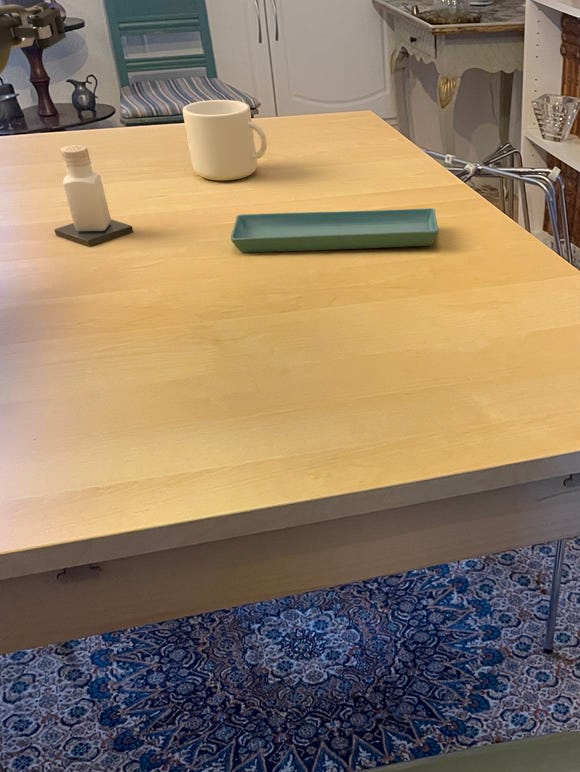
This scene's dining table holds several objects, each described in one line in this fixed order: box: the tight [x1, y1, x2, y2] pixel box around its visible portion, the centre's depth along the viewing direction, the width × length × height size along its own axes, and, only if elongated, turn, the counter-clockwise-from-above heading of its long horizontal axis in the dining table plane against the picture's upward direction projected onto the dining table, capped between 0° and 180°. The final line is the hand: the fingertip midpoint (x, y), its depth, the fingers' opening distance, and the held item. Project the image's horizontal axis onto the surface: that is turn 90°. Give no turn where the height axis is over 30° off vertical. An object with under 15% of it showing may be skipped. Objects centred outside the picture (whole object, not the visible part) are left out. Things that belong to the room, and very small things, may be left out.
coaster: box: [54, 218, 134, 248], centre depth 123 cm, size 7×7×1 cm
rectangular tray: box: [230, 207, 439, 253], centre depth 122 cm, size 26×9×2 cm, turn 95°
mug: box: [182, 99, 268, 182], centre depth 140 cm, size 12×10×9 cm
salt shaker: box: [60, 144, 112, 231], centre depth 120 cm, size 4×4×10 cm
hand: (4, 14), depth 98 cm, fingers open, 8 cm apart
